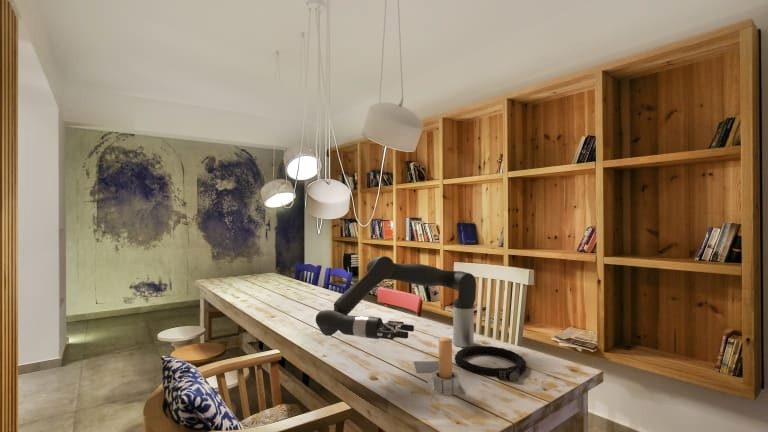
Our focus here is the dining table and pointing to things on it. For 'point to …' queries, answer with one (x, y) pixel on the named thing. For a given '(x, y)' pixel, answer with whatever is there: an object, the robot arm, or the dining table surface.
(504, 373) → the cable lock
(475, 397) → the dining table surface
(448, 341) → the tube
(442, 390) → the collar stand
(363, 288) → the robot arm
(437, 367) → the mat
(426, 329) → the dining table surface
